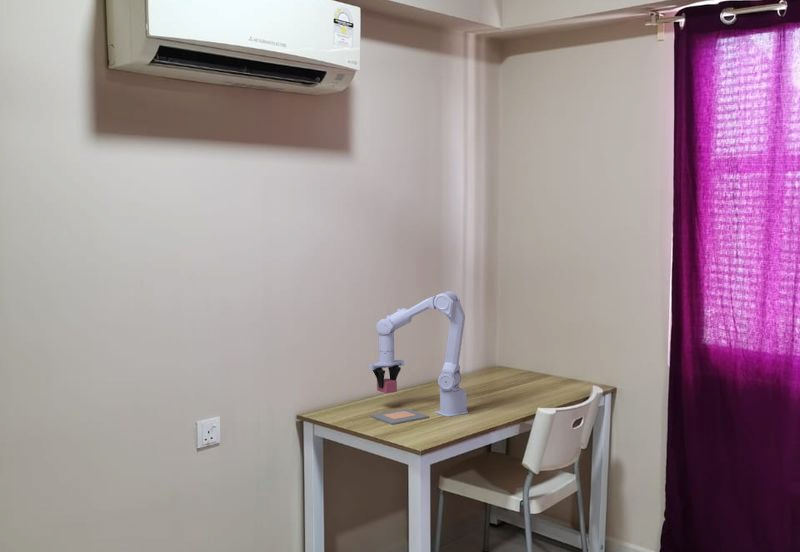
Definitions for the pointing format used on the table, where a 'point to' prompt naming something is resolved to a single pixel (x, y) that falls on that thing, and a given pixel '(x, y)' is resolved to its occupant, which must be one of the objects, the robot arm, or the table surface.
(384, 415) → the mat
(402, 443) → the table surface
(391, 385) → the pink rectangular block
